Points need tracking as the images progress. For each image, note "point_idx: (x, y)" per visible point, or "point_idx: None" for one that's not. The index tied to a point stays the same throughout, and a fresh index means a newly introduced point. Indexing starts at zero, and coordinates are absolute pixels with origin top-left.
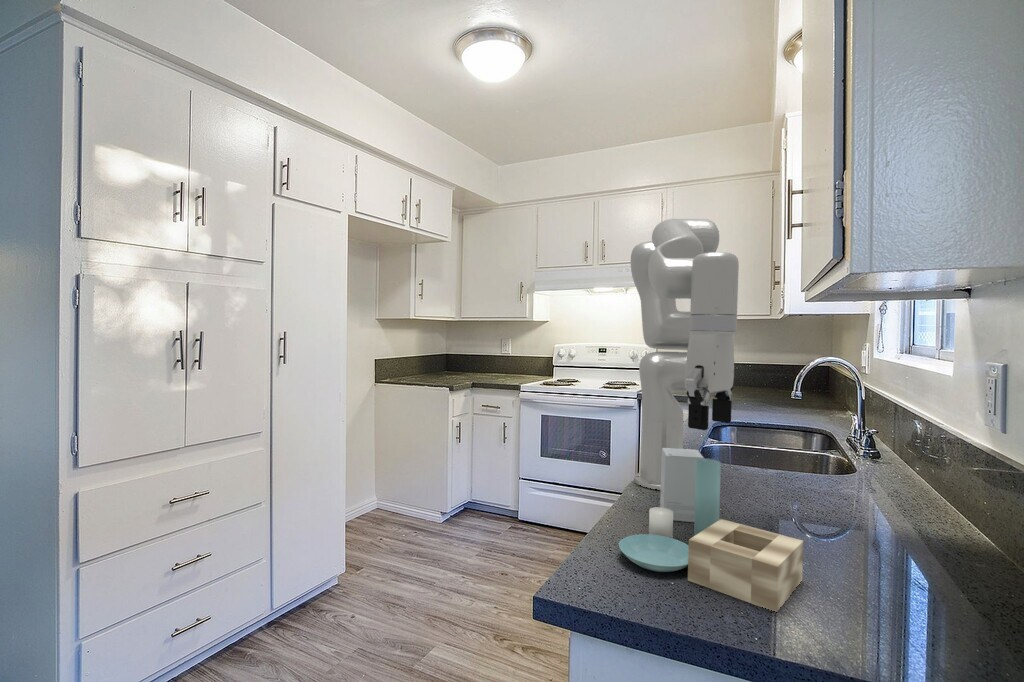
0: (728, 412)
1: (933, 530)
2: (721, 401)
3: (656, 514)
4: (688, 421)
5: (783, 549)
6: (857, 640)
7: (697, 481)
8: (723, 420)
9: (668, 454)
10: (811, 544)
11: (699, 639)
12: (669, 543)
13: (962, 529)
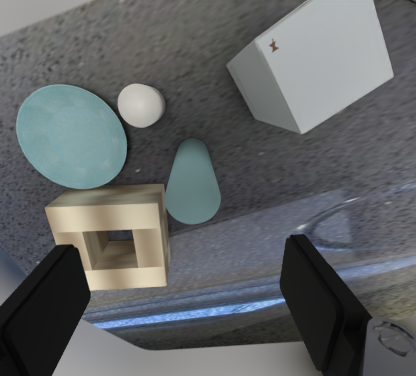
0: (294, 319)
1: (395, 296)
2: (326, 342)
3: (118, 108)
4: (45, 258)
5: (121, 281)
6: (105, 301)
7: (172, 170)
8: (282, 275)
9: (271, 40)
10: (274, 236)
11: None
12: (120, 135)
13: (413, 310)
